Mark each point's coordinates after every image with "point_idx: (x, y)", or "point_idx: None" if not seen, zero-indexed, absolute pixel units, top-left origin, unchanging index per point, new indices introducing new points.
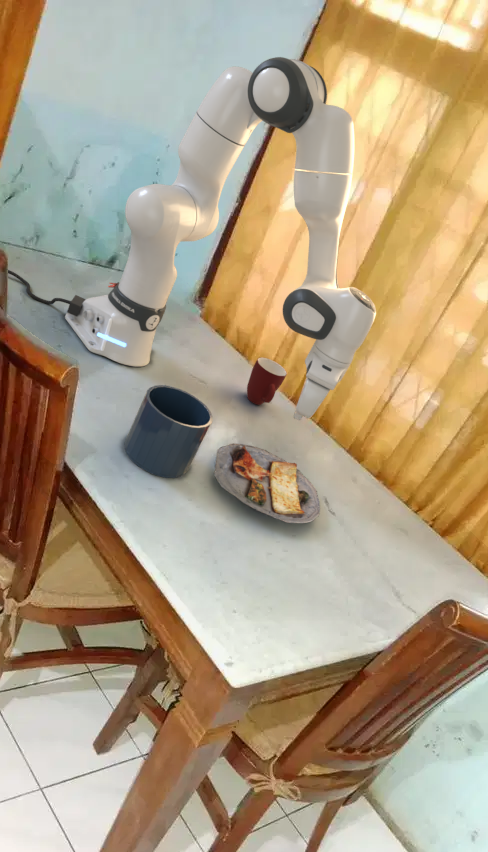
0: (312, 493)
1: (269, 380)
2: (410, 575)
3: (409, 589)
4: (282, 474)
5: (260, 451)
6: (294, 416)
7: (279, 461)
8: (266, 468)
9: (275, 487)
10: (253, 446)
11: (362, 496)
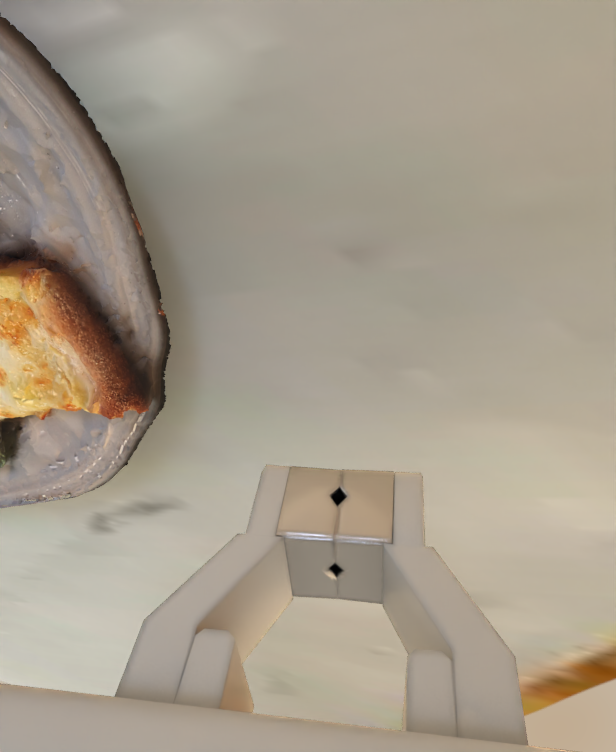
0: (44, 479)
1: None
2: (74, 673)
3: (11, 664)
4: (7, 342)
5: (74, 163)
6: (266, 477)
7: (112, 309)
8: (21, 236)
9: None
10: (61, 91)
11: (361, 614)
